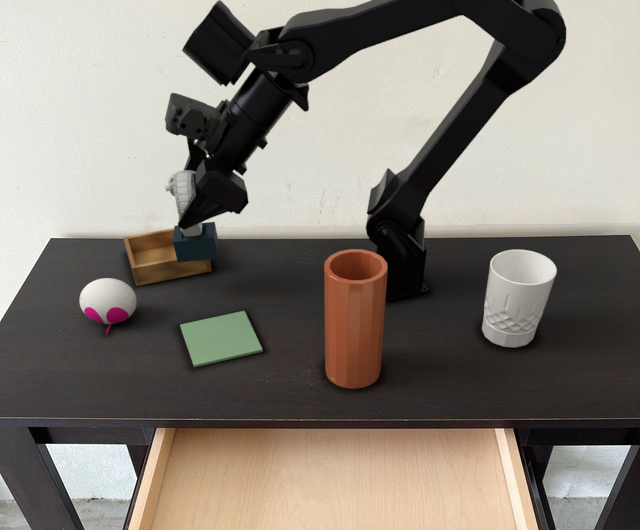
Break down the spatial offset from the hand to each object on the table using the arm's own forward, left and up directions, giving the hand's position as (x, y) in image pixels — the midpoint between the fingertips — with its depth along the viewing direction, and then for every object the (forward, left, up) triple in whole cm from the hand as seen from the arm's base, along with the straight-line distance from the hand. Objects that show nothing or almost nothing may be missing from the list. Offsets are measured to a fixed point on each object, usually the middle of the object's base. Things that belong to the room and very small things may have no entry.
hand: (178, 211), depth 86 cm
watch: (-2, 0, -6) cm, 7 cm away
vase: (-15, +25, -12) cm, 31 cm away
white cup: (-37, +25, -12) cm, 46 cm away
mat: (-1, +13, -12) cm, 18 cm away
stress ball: (+12, +4, -12) cm, 18 cm away
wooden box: (+2, -8, -12) cm, 15 cm away
